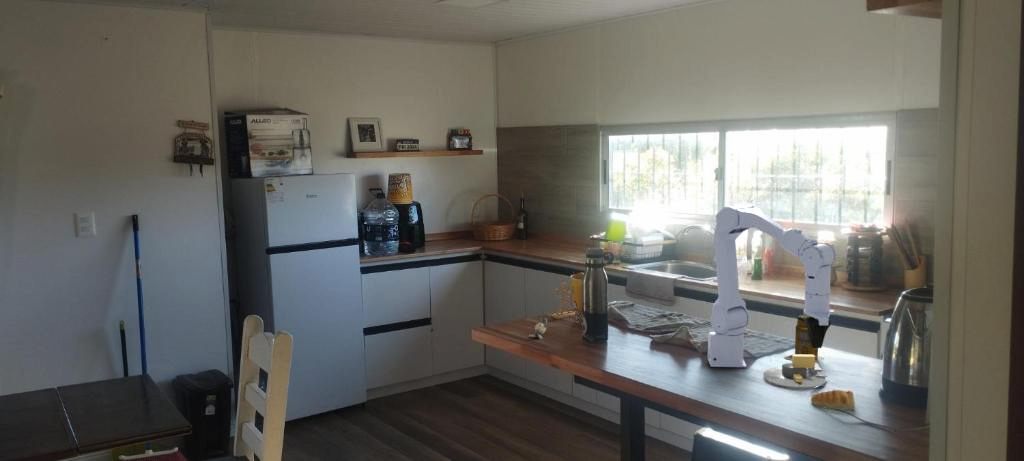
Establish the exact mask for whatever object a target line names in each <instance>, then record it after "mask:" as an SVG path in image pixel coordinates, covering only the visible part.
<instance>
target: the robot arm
mask: <svg viewBox="0 0 1024 461" xmlns="http://www.w3.org/2000/svg"><path fill="white" fill-rule="evenodd" d="M715 220H716V226H715V229H714V233H713V237H714V252H715V253H714V254H715V264H716V265H715V266H716V280H717V293H718V297H717V299H716V300H715V301H714V303H713V304H712V307H711V308H712V309H711V310H712V311H711V316H710V324H711V327H712V329H713V330H714V331H709V332H708V335H707V360H708V363H709V365H710V367H712V368H713V367H714V368H716V367H717V368H747V364H746V362H745V359H744V332H745V331H746V327H747V326H748V325H749V324H750V314H749V311H748V309H747V304H746V301H745V300H744V299H743V298H742V297H741V296H740V289H739V288H740V286H739V273H738V260H737V245H736V240H737V239H738V237H739V236H740V235H742V233H744V232H745V231H747V230H749V229H751V228H753V229H754V228H755V229H756V230H759V231H761V232H762V233H764V234H766V235H768V236H770V237H771V238H773V239H775V240H777V241H779V245H780V248H782V250H785V251H787V252H789V253H790V254H792V255H793V256H794V257H796V258H798V259H800V262H801V263H802V266H803V268H804V274H805V277H804V278H805V279H804V309H803V315H808V316H809V317H803V320H804V322H805V324H806V327H807V330H808V335H809V340H810V344H811V346H812V348H818V349H822V348H823V344H824V340H825V336H826V334H827V331H828V330H829V328H830V326H831V324H832V321H830V320H829V318H830V316H831V315H835V314H836V313H835V310H834V309H830V306H831V305H830V304H831V303H830V302H831V273H832V272H831V271H832V270H831V269H832V268H831V266H832V265H833V264H835V261H836V259H837V258H836V257H837V254H836V251H835V249H834V247H833V246H832V245H830V243H828V242H820V243H819V242H818V240H817V239H816V238H811V237H810V236H808V235H806V234H805V233H803V231H802V229H800V228H792V227H791V228H789V229H787V228H785V227H784V226H783V225H781V224H780V223H778V222H777V221H776V220H774V219H772V218H771V217H769V215H767V214H765V213H764V212H763V211H762V210H761V208H758V207H755V205H753V204H750V203H746V204H743V205H734V206H724V207H722V208H721V209H720V210H719V211H718V213H716V214H715Z"/></svg>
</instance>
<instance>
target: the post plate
mask: <svg viewBox="0 0 1024 461" xmlns="http://www.w3.org/2000/svg"><path fill="white" fill-rule="evenodd" d="M822 372H823V369H822V367H821V366H820V365H819V364H818V362H815V368H807V376H806V377H802V378H803V382H796V381H795V379H794V378H792V377H787V376H784V375H783V374H782V366H777V367H771V368H769V369H766V370H764V371H763V379H764V381H765V382H766V383H767V384H771V385H773V386H776V387H780V388H785V389H791V390H792V389H795V390H811V389H812V388H813V389H815V388H814V387H816V386H819V385H823V386H825V384H826V379H827V378H828V375H827V374H826V375H825V374H823V373H822ZM826 377H827V378H826Z"/></svg>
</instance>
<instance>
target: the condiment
mask: <svg viewBox="0 0 1024 461" xmlns="http://www.w3.org/2000/svg"><path fill="white" fill-rule="evenodd" d="M803 317H809V316H808V315H806V314H799V315H798V316H797V318H796V319H797V321H796V325H795V331H794V332H795V335H794V337H795V339H794V342H795V344H794V354H806V355H814V356H815V362H818V361H820V360H824V359H825V357H821V356H819V348H812V346H811V344H810V340H809V335H808V330H807V327H806V324H805V322H804V320H803ZM783 358H784V359H787V360H791V361H792V354H791V355H788V356H783Z"/></svg>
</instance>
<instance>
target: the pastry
mask: <svg viewBox="0 0 1024 461" xmlns="http://www.w3.org/2000/svg"><path fill="white" fill-rule="evenodd" d="M810 400H811V401H810V402H811V403H812V404H813V405H814V406H817V407H818V406H820V408H824V407H825V408H826V409H829V408H830V410H837V409H843V410H842V411H854V409H855V408H856V402H855V398H854V392H853V391H852V390H846V391H845V390H840V389H834V390H827V391H822V392H820V393H819V392H818V393H815V394H813V395H812V396H811V399H810Z"/></svg>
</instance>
